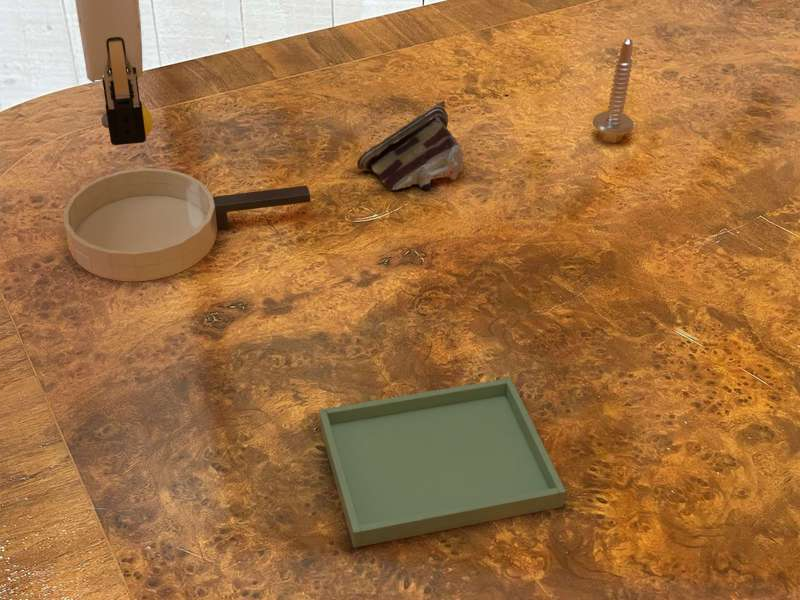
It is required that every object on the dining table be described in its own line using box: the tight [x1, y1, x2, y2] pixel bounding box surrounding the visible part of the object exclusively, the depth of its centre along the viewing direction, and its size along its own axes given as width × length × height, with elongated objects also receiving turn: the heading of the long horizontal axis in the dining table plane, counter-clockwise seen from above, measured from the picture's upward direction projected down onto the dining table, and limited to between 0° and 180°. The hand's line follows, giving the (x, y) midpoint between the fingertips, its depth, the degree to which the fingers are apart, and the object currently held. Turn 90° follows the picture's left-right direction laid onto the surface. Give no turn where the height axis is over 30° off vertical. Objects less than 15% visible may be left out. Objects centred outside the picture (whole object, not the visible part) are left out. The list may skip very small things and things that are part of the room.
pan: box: [63, 167, 218, 282], centre depth 110 cm, size 15×15×4 cm
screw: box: [592, 37, 635, 144], centre depth 125 cm, size 13×5×5 cm
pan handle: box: [213, 185, 311, 231], centre depth 113 cm, size 10×2×3 cm, turn 105°
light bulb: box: [100, 105, 154, 137], centre depth 102 cm, size 3×6×4 cm, turn 59°
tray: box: [318, 377, 567, 549], centre depth 88 cm, size 17×13×2 cm
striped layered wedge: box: [356, 100, 464, 191], centre depth 121 cm, size 10×7×12 cm
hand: (126, 126), depth 102 cm, fingers closed on light bulb, 4 cm apart
